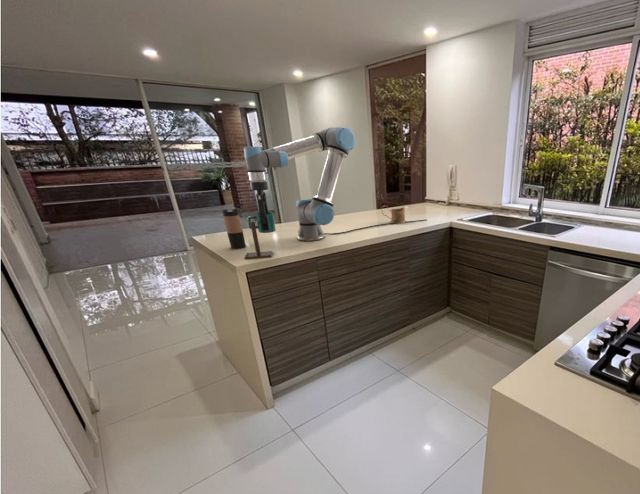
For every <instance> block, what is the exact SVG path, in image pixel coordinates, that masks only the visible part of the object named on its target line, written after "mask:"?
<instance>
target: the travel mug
mask: <svg viewBox="0 0 640 494" xmlns="http://www.w3.org/2000/svg"><path fill="white" fill-rule="evenodd" d="M239 212H240V211H239V209H236V208H235V209H231V210H228V209H224V210H222V217H223V221H224V225H225V230H226V233H227V238H228V241H229V244H230V248H231V249H233V250H240V249H244V248H246V241H245V236H244V235H245V234H244V230H243V226H242V222H241V216H240V213H239Z"/></svg>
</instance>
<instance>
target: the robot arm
mask: <svg viewBox="0 0 640 494" xmlns="http://www.w3.org/2000/svg"><path fill="white" fill-rule="evenodd" d="M355 146H356V137H355V135H354V132H353V131H352V129H350V128H349V127H346V126H338V127H337V126H336V127H328V128H325V129H322V130H320V131H318V132H315V133H312V135H311V136H308V137H305V138H301V139H297V140H295V141H291V142H288V143H284V144H280V145H277V146H273V147H271V148H268V149H264V150H262V147H261V146H245V147H244V148H243V151H244V152H243V153H244V159H245V163H246V168H247V177H248V178H249V181H250V183H249V184H250V189H251V190H252V191H256V194H255V197H256V200H257V207H258V213H259V214H260V216H259V217H261V222H262V227H263V230H269V226H268V221H267V217H266V212H271V211H269V206H268V201H267V194H266V191H267V190H269V185H268V179H267V174H266V169H269V168H275V169H276V168H287V167H289V164H290V160H292V159H295V158H299V157H301V156H305V155H308V154H311V153H315V152H319V153H321V152H324V151H327V152H328V153H327V157H326V160H325V162H324V163H325V164H324V168H323V170H322V174H321V176H320V177H321V178H320V181H319V185H318V188H317V192H316V195H314V196H312V198H307V199H306V198H305V199H298V200H296V203H295V205H296V206H295V207H296V213H297V218H298V226H299V228H298V230H297V240H298V241H302V242H316V241H320V240H323V239H324V238H325V236H327V235H328V236H329V235H330V236H333V235H341V234H347V233H350V232H351V233H352V232H354V231H358V230H359V231H360V230H364V229H368V228H374V227H380V226H387V225H397V224H396V223H380V224H375V225H370V226H369V225H368V226H364V227H360V228H355V229H351V230H346V231H342V232H332V233H331V232H324V230H323V229H322V227H321V226H327V225H329V224H331V223H332V222H333V220H334V217H335V211H334V203H333V198H334V194H335V191H336V188H337V184H338V181H339V177H340V175H341V170H342V166H343V163H344V160H345V159H346V158H348V157H349V154H350V151H352V150H353V149H354V148H355ZM424 221H425V222H426V221H428V220H427V218H425V219H419V220H418V219H417V220H409V221H406V222H405V223H404V224H407V223H416V222H424Z"/></svg>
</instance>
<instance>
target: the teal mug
mask: <svg viewBox="0 0 640 494" xmlns="http://www.w3.org/2000/svg"><path fill="white" fill-rule="evenodd" d="M254 214H255V215H253V216H247V222H248V229H250V230H252V229H251V225H250V222H252V220H254V219H256V220H257V221H256V224H257V225H255V227H256V230H257V229H258V232H259V233H260V234H269V233H270V234H271V233H275V232H276V230H277V228H276V222H275V217H274V212H272V211H270V212H266V217H267V221H268V226H269V230H263V227H262V222H261V217H259V216H260V214H259V212H256V213H254Z"/></svg>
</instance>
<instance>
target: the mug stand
mask: <svg viewBox="0 0 640 494" xmlns="http://www.w3.org/2000/svg"><path fill="white" fill-rule="evenodd" d="M256 224H257V220H256V219H253V221H252V220H251V222H250V225H251V229H250V230H251V233H252V238H253V243H254V248H255V251H254V252H247V253H246V255H245V256H244V259H245V260H252V259H253V260H254V259H264V258H272V256H273V253H274V252H273V250H265V251H261V247H260V243H259V238H258V231H257V229H256V227H255V226H256Z"/></svg>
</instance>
